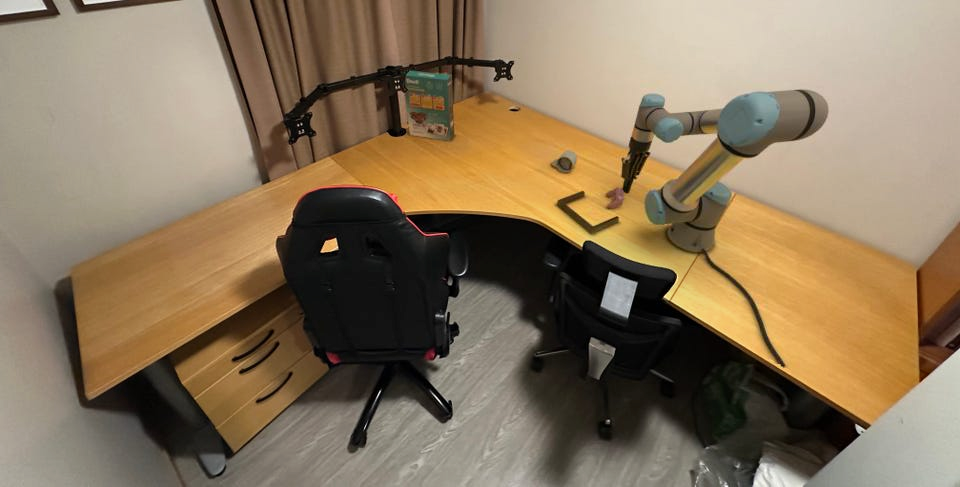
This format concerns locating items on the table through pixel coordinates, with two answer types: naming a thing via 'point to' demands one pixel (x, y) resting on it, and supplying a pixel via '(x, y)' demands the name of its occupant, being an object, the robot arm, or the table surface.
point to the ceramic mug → (565, 161)
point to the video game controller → (616, 197)
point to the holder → (578, 218)
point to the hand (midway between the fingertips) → (625, 191)
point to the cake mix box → (430, 105)
